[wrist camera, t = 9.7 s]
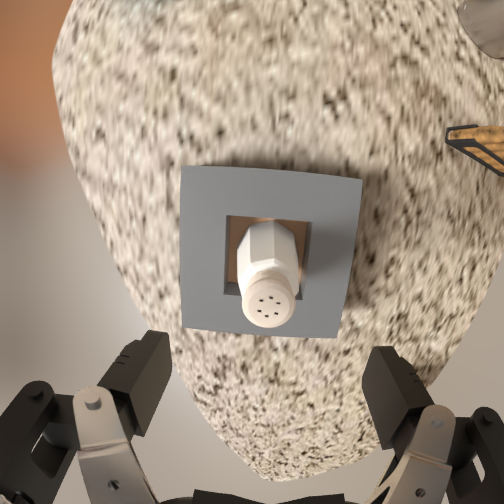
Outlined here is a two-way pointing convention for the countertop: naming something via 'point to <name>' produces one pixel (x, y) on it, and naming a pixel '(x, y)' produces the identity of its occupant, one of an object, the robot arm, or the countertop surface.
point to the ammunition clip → (480, 144)
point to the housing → (255, 211)
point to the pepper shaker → (268, 273)
